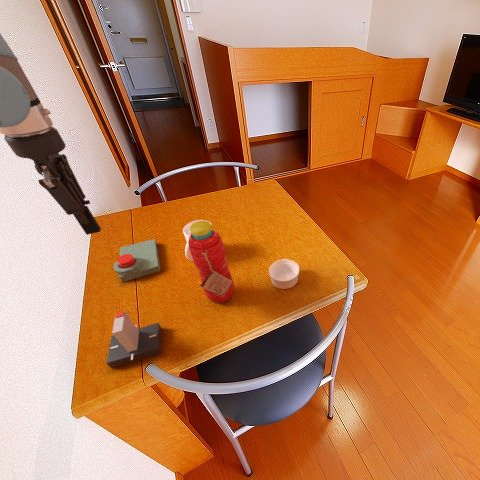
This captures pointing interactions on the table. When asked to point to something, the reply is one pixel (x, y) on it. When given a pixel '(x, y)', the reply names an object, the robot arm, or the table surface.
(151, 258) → the housing
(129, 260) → the button
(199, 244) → the water bottle
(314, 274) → the table surface
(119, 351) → the panel
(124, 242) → the table surface
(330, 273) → the table surface
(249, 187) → the table surface
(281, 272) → the ramekin
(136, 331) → the knob
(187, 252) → the mug
